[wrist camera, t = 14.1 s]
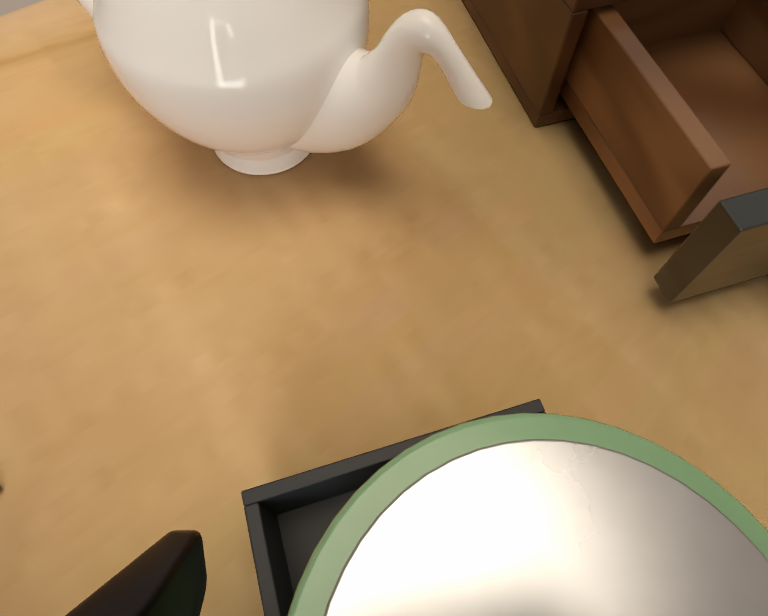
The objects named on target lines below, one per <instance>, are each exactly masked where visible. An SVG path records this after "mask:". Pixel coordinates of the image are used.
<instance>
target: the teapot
mask: <svg viewBox="0 0 768 616" xmlns="http://www.w3.org/2000/svg"><path fill="white" fill-rule="evenodd" d="M78 2H79V3H80V4H81V6H82V7H83V8H84V9H85V11H86V12H87V13H88V15H89V16H90V17H91V18H92V20H93V22H94V28H95V32H96V36H97V39H98V41H99V44H100V47H101V49H102V51H103V53H104V56H105V58H106V60H107V62H108V63H109V65H110V67H111V69H112V70H113V72H114V74H115V75H116V77H117V78H118V80H119V81H120V83H121V84H122V85H123V87H124V88H125V89H126V91H127V92H128V93H129V94H130V95H131V96H132V98H133V99H134V100H135V101H136V102H137V103H138V104H139V105H140V106H141V107H142V108H143V109H144V110H146V111H147V112H148V113H149V114H150V115H151V116H152V117H154V118H155V119H156V120H157V121H159V122H160V123H161V124H163V125H164V126H166V127H167V128H169V129H170V130H172V131H173V132H175V133H176V134H178V135H180V136H182V137H184V138H185V139H187V140H189V141H192V142H194V143H196V144H199V145H201V146H204V147H207V148H210V149H214V150H215V153H216V154H217V156H218V157H219V159H220V160H221V161H222V162H223V163H224V164H226V165H227V166H228V167H230V168H232V169H234V170H236V171H239V172H242V173H246V174H251V175H269V174H275V173H279V172H282V171H285V170H287V169H290V168H292V167H294V166H295V165H297V164H298V163H300V162H301V161H302V160H304V159H305V158H306V157H307V156H308V154H309V153H334V152H342V151H346V150H350V149H354V148H356V147H358V146H361V145H363V144H365V143H367V142H369V141H370V140H372V139H373V138H375V137H376V136H378V135H379V134H381V133H382V132H383V131H384V130H386V129H387V128H388V127H389V126H390V125H391V124H392V123H393V122H394V121H395V120H396V119H397V118H398V117H399V116H400V115H401V114H402V113H403V112H404V110H405V109H406V108H407V106H408V105H409V103H410V101H411V100H412V97H413V95H414V93H415V90H416V87H417V83H418V79H419V74H420V69H421V63H422V58H423V54H428V55H430V56H431V57H432V58H433V59H434V60H435V61H436V62H437V64H438V65H439V67H440V68H441V70H442V72H443V73H444V75H445V77H446V79H447V81H448V82H449V84H450V86H451V88H452V90H453V93H454V95H455V97H456V98H457V99H458V101H460V102H461V103H462V104H463V105H465V106H467V107H469V108H473V109H486V108H488V107H490V106H491V104H492V97H491V95H490V94H489V92H488V91H487V89H486V88H485V86H484V85H483V83H482V82H481V80H480V79H479V77H478V76H477V74H476V73H475V71H474V70H473V68H472V67H471V65H470V64H469V62H468V61H467V59H466V57H465V56H464V54H463V53H462V51H461V50H460V48H459V46H458V45H457V43H456V42H455V40H454V38H453V37H452V35H451V33H450V31H449V30H448V28H447V27H446V25H445V24H444V22H443V21H442V20H441V19H440V18H439V17H438V16H437V15H436V14H435V13H434V12H432V11H430V10H428V9H422V8H419V9H413V10H410V11H408V12H405V13H404V14H403V15H401V16H400V17H399V18H397V19H396V20H395V21H394V22H393V24H392V25H391V26H390V27H389V28H388V30H387V31H386V33H385V34H384V36H383V37H382V39H381V41H380V42H379V44H378V45H377V46H376V47H375V48H374V49H373V50H371V51H369V50H366V46H367V40H368V32H369V0H78Z"/></svg>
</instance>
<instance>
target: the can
mask: <svg viewBox="0 0 768 616" xmlns="http://www.w3.org/2000/svg"><path fill="white" fill-rule="evenodd" d="M287 616H768V531H767V530H766V529H765V528H764V527H763V525H762V524H761V523H760V522H759V521H758V520H757V519H756V518H755V517H754V516H753V515H752V514H751V513H750V512H749V511H748V510H747V509H746V508H745V507H744V506H743V505H742V504H741V503H740V502H739V501H738V500H737V499H735V498H734V497H733V496H732V495H731V494H729V493H728V492H727V491H726V490H725V489H724V488H722V487H721V486H720V485H719V484H718V483H717V482H715V481H714V480H713V479H712V478H710V477H709V476H707V475H706V474H704V473H703V472H702V471H700V470H699V469H697V468H696V467H694V466H693V465H691V464H690V463H688V462H687V461H686V460H684V459H683V458H681V457H679V456H677V455H675V454H674V453H672V452H670V451H668V450H666V449H664V448H663V447H661V446H659V445H657V444H655V443H653V442H652V441H649V440H647V439H644V438H642V437H640V436H637V435H635V434H632V433H630V432H627V431H625V430H622V429H620V428H617V427H614V426H610V425H607V424H603V423H600V422H596V421H592V420H589V419H585V418H578V417H572V416H565V415H559V414H542V413H518V414H508V415H498V416H490V417H486V418H482V419H478V420H474V421H470V422H465V423H461V424H459V425H456V426H454V427H451V428H449V429H446V430H443V431H441V432H438V433H436V434H433V435H431V436H429V437H427V438H426V439H424V440H422V441H420V442H418V443H417V444H415V445H413V446H411V447H409V448H407V449H406V450H404V451H403V452H401V453H400V454H399V455H397V456H396V457H395V458H393V459H392V460H391V461H389V462H388V463H387V464H385V465H384V466H383V467H381V468H380V469H379V470H378V471H377V472H375V473H374V474H373V475H372V476H371V477H370V478H369V479H368V480H367V481H366V482H365V483H364V484H363V485H362V486H361V487H360V488H359V489H358V490H357V491H356V492H355V493H354V494H353V495H352V497H351V498H350V499H349V500H348V502H347V503H346V504H345V505H344V506H343V508H342V509H341V510H340V511H339V513H338V514H337V515H336V516H335V518H334V519H333V520H332V522H331V524H330V525H329V527H328V528H327V530H326V532H325V533H324V535H323V536H322V538H321V540H320V541H319V543H318V545H317V546H316V548H315V549H314V551H313V553H312V555H311V557H310V560H309V562H308V564H307V566H306V568H305V570H304V573H303V575H302V577H301V579H300V581H299V583H298V586H297V588H296V591H295V594H294V597H293V600H292V603H291V606H290V609H289V612H288V615H287Z"/></svg>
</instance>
